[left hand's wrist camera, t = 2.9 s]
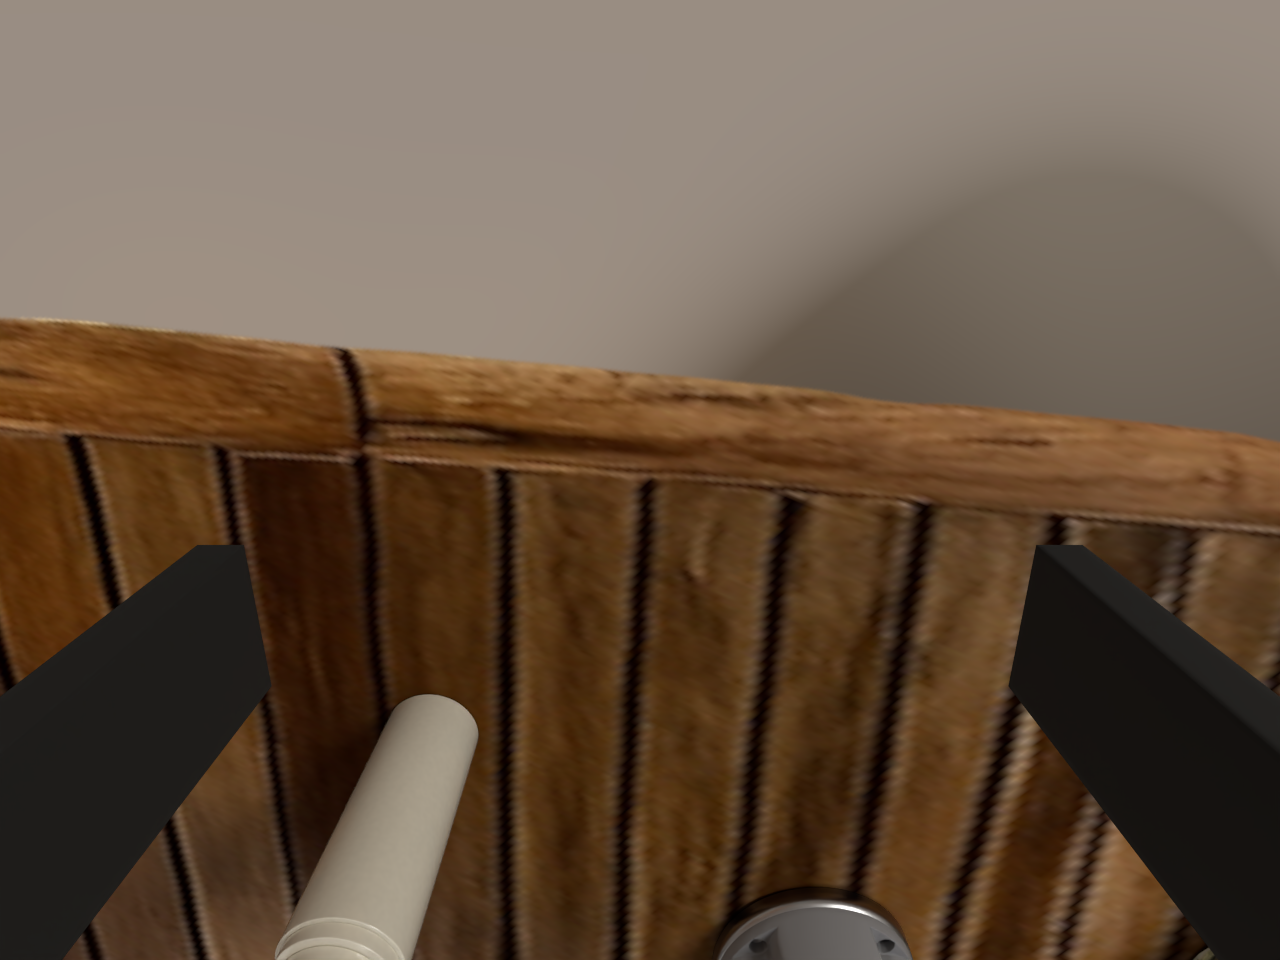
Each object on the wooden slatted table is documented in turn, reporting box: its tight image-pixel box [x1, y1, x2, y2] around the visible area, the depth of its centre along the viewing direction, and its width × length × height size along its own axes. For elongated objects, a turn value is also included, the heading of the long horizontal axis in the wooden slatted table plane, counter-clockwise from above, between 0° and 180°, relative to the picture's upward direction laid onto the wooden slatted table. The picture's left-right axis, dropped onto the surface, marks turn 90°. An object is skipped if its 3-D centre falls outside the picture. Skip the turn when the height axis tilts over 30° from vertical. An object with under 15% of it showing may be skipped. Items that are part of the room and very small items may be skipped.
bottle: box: [275, 694, 478, 960], centre depth 41 cm, size 6×6×24 cm
